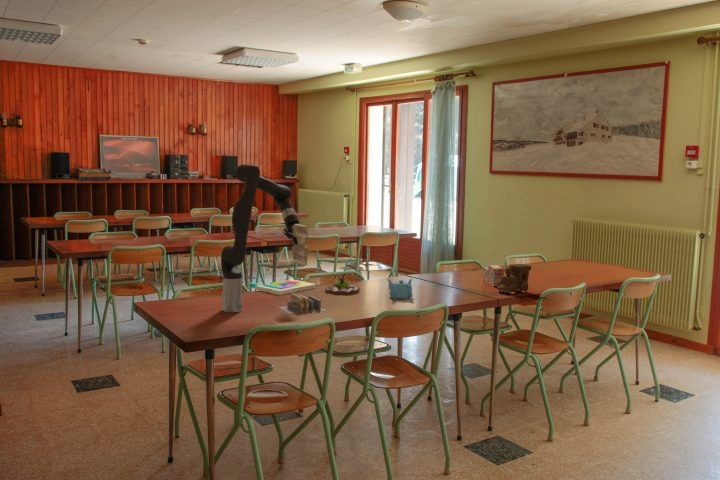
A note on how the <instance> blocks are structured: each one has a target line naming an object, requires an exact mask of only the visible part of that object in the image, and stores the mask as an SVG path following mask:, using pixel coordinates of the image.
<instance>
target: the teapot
mask: <svg viewBox="0 0 720 480" xmlns="http://www.w3.org/2000/svg"><path fill="white" fill-rule="evenodd" d="M386 280H387V281H388V290H389V296H390V297H391V298H392V299H395V300H408V299H410V298H413V295H414V294H413V286H412V281H413V278H411V279H409V280H408V282H405V281H404V280H403V279H399V280H398V281H395V282H394V283H392V280H391V279H390V278H386Z"/></svg>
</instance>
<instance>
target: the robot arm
mask: <svg viewBox="0 0 720 480" xmlns="http://www.w3.org/2000/svg"><path fill="white" fill-rule="evenodd" d="M235 176H236V179H237V180H238V181H239V182H242V183H245V187H244V191H243V192H242V194H241V195H240V197H239V198H238V199H237V201H236V203H235V204H234V206H233V209H232V216H231V225H232V228H233V232H234V241H233V245H226V246H225V247H223V249H222V250H221V256H220V261H221V264H220V265H221V272H222V275H223V279H222V280H223V285H222V286H223V290H222V292H221V310H222V311H223V312H224V313H240V312H242V310H243V309H242V308H243V306H242V305H243V304H242V303H243V302H242V300H243V292H242V291H243V273H242V271H241V270H240V269H239V268H238V266H240V265H242V264H243V263H244V261H245V258H246V255H247V254H246V253H247V241H248V235H249V234H248V233H249V228H250V222H251V218H252V212H253V211H252V210H253V205H254V201H255V197H256V196H255V195H256V192H257V189H259V190H261V191H263V192H264V193H265V194H268V195H269V196H271V197H272V198H273V200H274V202H275V203H276V204H277V205H278V207H279V209H280V212H281V215H282V219H283V221H284V223H283V224H284V226H285V228H283V230H282V233H283V234H284V235H285V237H286V238H288V240H292V241H293V245H294V244H295V245H297V244H298V242H297V239H296V236H295V231H294V224H300V225H301V223H300V220H299V217H298V215H297V212H296V210H295V208H294V205H293V203H292V201H291V200H289V199H290V198H292V197H293V191H292V190H291V188H289V187H288V186H286V185H283V184H279V183H278V184H277V182H276V183H275V182H274V181H273V180H271V179H269V178H265V177H263V176H261V171H260V167H259V166H258V165H256V164H246V163H245V164H240V165H238V166H237V168H236V170H235Z"/></svg>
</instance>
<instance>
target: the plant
mask: <svg viewBox="0 0 720 480" xmlns="http://www.w3.org/2000/svg"><path fill="white" fill-rule="evenodd" d="M345 276H346V278H347V277H349V274H348V273H343V275H342V277H340V276H339V275H335V276H334V279H337V278H338V279H337V280H336V282H335V281H334V282H333V283H334V284H330V285H328V286H326V287H325V288H324V291H325V293H326V294H331V295H339V296H341V295H342V296H351V295H356V294H359V293H360V290H361V289H360V286H357V285H352V284H351V281H350V280H349V281H347V282H346V281H345V280H344V279H345Z"/></svg>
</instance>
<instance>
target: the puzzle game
mask: <svg viewBox="0 0 720 480" xmlns="http://www.w3.org/2000/svg"><path fill="white" fill-rule="evenodd" d="M248 287H249V288H253V289H255V291H258V292H264V293H267V292H269V293H268V294H271V295H277V296H283V295H288V293H289V294H292V293H294V294H295V293H298V292H299V293H300V292H303V290H304V291H308V290H307V289H309V290H312V289H316V288H317V284H316V283H312V282H307V281H302V280H297V279H292V278H290V279H286V280H285V279H284V280H279V281H273V282H270V283H269V284H263V283H258V282H253V281H252V282H249V283H248ZM266 290H272V291H266Z"/></svg>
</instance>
